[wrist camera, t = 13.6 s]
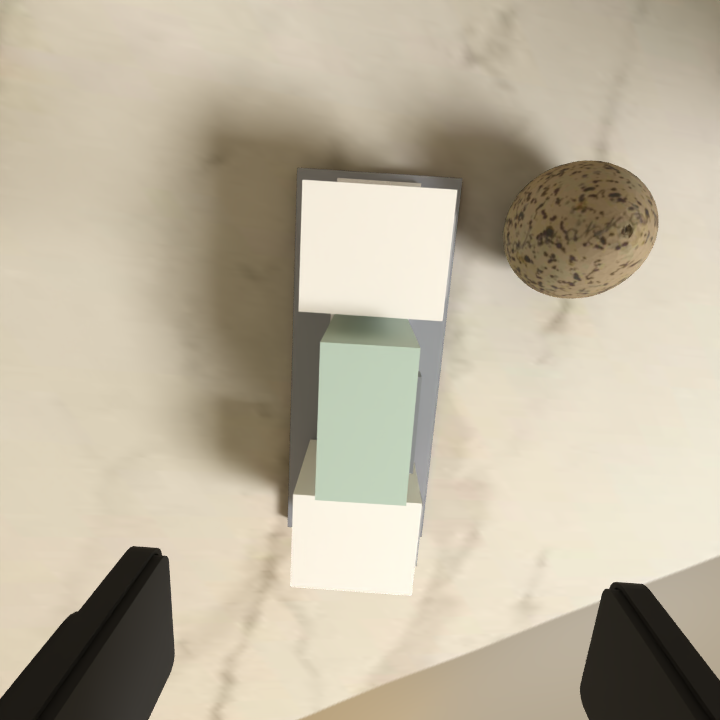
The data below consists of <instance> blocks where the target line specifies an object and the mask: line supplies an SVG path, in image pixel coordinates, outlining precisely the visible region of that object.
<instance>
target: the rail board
mask: <svg viewBox="0 0 720 720" xmlns="http://www.w3.org/2000/svg"><path fill="white" fill-rule="evenodd" d="M461 187H462V178H448V177H433V176H417V175H402V174H386V173H371V172H356V171H340V170H325V169H309V168H297V197H296V234H295V272H294V310H293V347H292V385H291V423H290V461H289V498H288V527H292V550H291V584H290V587H299V588H313V589H326V590H340V591H353V592H367V593H380V594H394V595H407V596H412V589H413V580H414V571H415V566H417V557H418V548H419V539H420V537H422V528H423V519H424V510H425V502H426V493H427V484H428V475H429V467H430V458H431V449H432V440H433V432H434V423H435V414H436V405H437V397H438V388H439V379H440V371H441V362H442V353H443V344H444V336H445V327H446V318H447V309H448V301H449V292H450V283H451V274H452V266H453V257H454V248H455V239H456V231H457V222H458V213H459V205H460V196H461ZM334 314H343V315H357V316H372V317H387V318H401V319H408V321H409V323H410V325H411V328H412V330H413V332H414V334H415V337H416V339H417V341H418V344H419V346H420V359H419V370H418V371H420V373H421V376H422V382H421V392H420V403H419V414H418V424H417V435H416V446H415V456H414V467H413V474H409V479H408V490H407V501H406V506H399V505H384V504H368V503H352V502H336V501H321V500H315V484H316V454H317V423H318V393H319V363H320V341H321V340H322V338H323V336H324V334H325V332H326V330H327V328H328V326H329V324H330V322H331V320H332V318H333V316H334Z"/></svg>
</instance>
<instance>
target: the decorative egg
mask: <svg viewBox="0 0 720 720" xmlns="http://www.w3.org/2000/svg"><path fill="white" fill-rule="evenodd" d="M657 231H658V212H657V207H656V204H655V201H654V199H653V197H652V195H651V193H650V191H649V190H648V188H647V187H646V186H645V184H644V183H643V182H642V181H641V180H640V179H639V178H638V177H637V176H635V175H634V174H632V173H631V172H629V171H628V170H626V169H624V168H621V167H619V166H616V165H613V164H610V163H606V162H602V161H577V162H572V163H568V164H564V165H560V166H557V167H555V168H552V169H550V170H548V171H546V172H544V173H543V174H541V175H539V176H538V177H536V178H535V179H534V180H532V181H531V182H530V183H529V184H528V185H527V186H526V187H525V188H524V189H523V190H522V191H521V192H520V193H519V195H518V196H517V197H516V199H515V200H514V202H513V204H512V205H511V207H510V209H509V212H508V214H507V217H506V221H505V225H504V230H503V244H504V250H505V254H506V257H507V260H508V262H509V264H510V266H511V268H512V269H513V271H514V272H515V274H516V275H517V276H518V277H519V278H520V279H521V280H522V281H523V282H524V283H525V284H527V285H528V286H529V287H531V288H532V289H534V290H536V291H538V292H541V293H543V294H546V295H549V296H553V297H559V298H583V297H589V296H593V295H597V294H600V293H603V292H605V291H607V290H609V289H611V288H613V287H615V286H617V285H619V284H620V283H622V282H623V281H625V280H626V279H627V278H629V277H630V276H631V275H632V274H633V273H634V272H635V271H636V270H637V269H638V268H639V267H640V266H641V265H642V264H643V262H644V261H645V260H646V258H647V257H648V255H649V253H650V251H651V249H652V248H653V245H654V243H655V240H656V236H657Z"/></svg>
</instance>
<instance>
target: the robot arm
mask: <svg viewBox="0 0 720 720" xmlns="http://www.w3.org/2000/svg"><path fill="white" fill-rule="evenodd" d="M174 654H175V652H174V635H173V619H172V603H171V587H170V571H169V559H168V557H167V556H162V553H161V550H160V549H159V548H150V547H136V546H133V547H130V548H129V549H128V550H127V551H126V552H125V554H124V555H123V556H122V557H121V559H120V560H119V561H118V562H117V564H116V565H115V566H114V567H113V569H112V570H111V571H110V572H109V574H108V575H107V576H106V577H105V579H104V580H103V581H102V583H101V584H100V585H99V586H98V588H97V589H96V590H95V591H94V593H93V594H92V595H91V596H90V598H89V599H88V600H87V601H86V603H85V604H84V605H83V606H82V608H81V609H80V610H79V611H78V612H75V613H73V614H71V615H70V616H69V617H68V618H67V619H66V620H65V621H64V622H63V623H62V624H61V625H60V626H59V628H58V629H57V630H56V631H55V633H54V634H53V635H52V636H51V637H50V639H49V640H48V641H47V642H46V644H45V645H44V646H43V647H42V648H41V650H40V651H39V652H38V653H37V655H36V656H35V657H34V658H33V659H32V661H31V662H30V663H29V664H28V666H27V667H26V668H25V669H24V670H23V672H22V673H21V674H20V675H19V677H18V678H17V679H16V680H15V681H14V683H13V684H12V685H11V686H10V688H9V689H8V690H7V691H6V692H5V694H4V695H3V696H2V697H1V699H0V720H148V719H149V717H150V715H151V713H152V711H153V709H154V706H155V704H156V702H157V700H158V698H159V696H160V694H161V692H162V690H163V687H164V685H165V683H166V681H167V679H168V677H169V675H170V672H171V670H172V666H173V662H174ZM580 694H581V700H582V704H583V707H584V709H585V712H586V714H587V716H588V718H589V720H720V680H719V679H718V678H717V677H716V675H715V674H714V673H713V671H712V670H711V669H710V667H709V666H708V665H707V664H706V662H705V661H704V660H703V658H702V657H701V656H700V654H699V653H698V652H697V651H696V649H695V648H694V647H693V645H692V644H691V643H690V642H689V640H688V639H687V638H686V636H685V635H684V634H683V633H682V631H681V630H680V629H679V627H678V626H677V625H676V623H675V622H674V621H673V620H672V618H671V617H670V616H669V614H668V613H667V612H666V610H665V609H664V608H663V607H662V605H661V604H660V603H659V601H658V600H657V599H656V598H655V596H654V595H653V594H652V592H651V591H650V590H649V589H648V588H647V587H646V586H645V585H643V584H635V583H622V582H614V583H612V584H611V586H610V589H605V590H604V591H603V593H602V596H601V601H600V605H599V609H598V614H597V617H596V622H595V626H594V630H593V634H592V638H591V643H590V647H589V651H588V655H587V660H586V664H585V668H584V672H583V676H582V681H581V686H580Z"/></svg>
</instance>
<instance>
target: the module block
mask: <svg viewBox="0 0 720 720" xmlns="http://www.w3.org/2000/svg"><path fill="white" fill-rule="evenodd" d="M419 359H420V346H419V344H418V341H417V339H416V337H415V334H414V332H413V330H412V328H411V325H410V323H409V321H408V319H401V318H387V317H372V316H357V315H343V314H334V316H333V318H332V320H331V322H330V324H329V326H328V328H327V330H326V332H325V334H324V336H323V338H322V340H321V341H320V363H319V393H318V423H317V454H316V484H315V500H321V501H336V502H352V503H368V504H384V505H399V506H406V501H407V490H408V479H409V474H413V467H414V456H415V446H416V435H417V424H418V414H419V403H420V392H421V382H422V376H421V373H420V371H418V370H419Z"/></svg>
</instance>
